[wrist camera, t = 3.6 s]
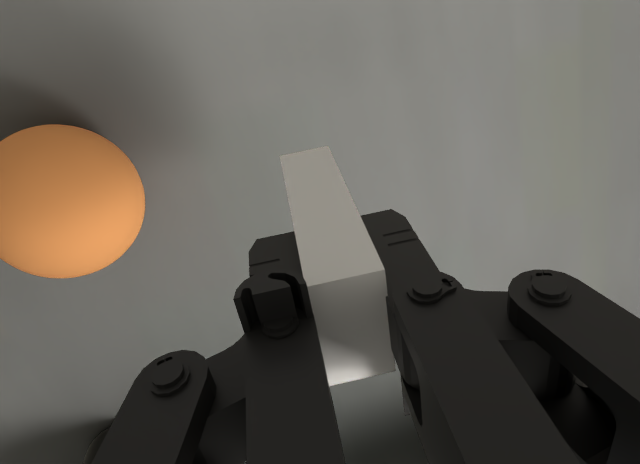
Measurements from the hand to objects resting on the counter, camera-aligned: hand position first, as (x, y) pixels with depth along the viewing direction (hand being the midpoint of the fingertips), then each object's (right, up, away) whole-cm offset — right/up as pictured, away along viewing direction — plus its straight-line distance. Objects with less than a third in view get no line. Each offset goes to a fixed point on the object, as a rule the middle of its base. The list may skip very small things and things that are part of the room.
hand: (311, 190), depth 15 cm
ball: (-10, 0, +4) cm, 11 cm away
